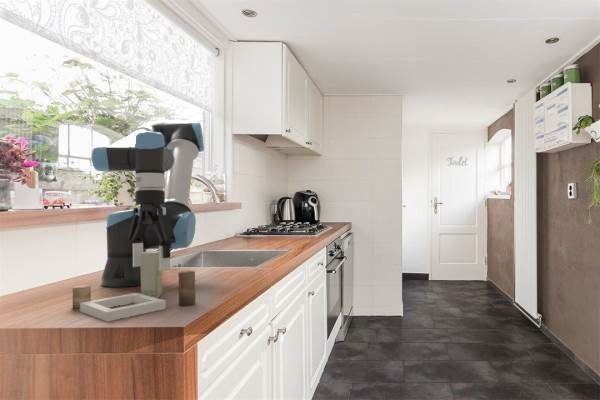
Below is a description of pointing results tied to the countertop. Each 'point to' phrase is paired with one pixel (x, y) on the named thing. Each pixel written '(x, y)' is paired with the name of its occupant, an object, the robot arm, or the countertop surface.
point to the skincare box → (150, 274)
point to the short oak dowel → (81, 295)
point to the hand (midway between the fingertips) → (150, 268)
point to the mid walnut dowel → (186, 288)
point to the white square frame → (106, 313)
